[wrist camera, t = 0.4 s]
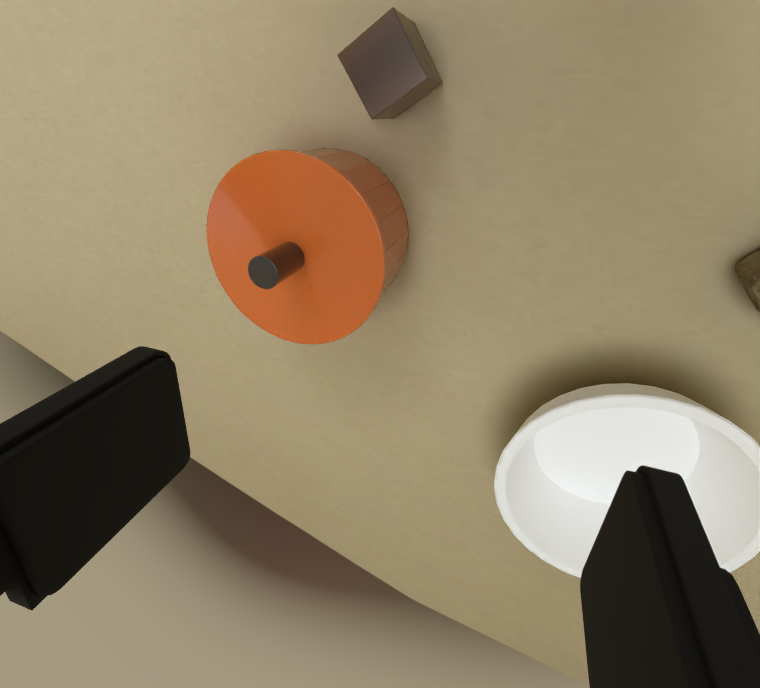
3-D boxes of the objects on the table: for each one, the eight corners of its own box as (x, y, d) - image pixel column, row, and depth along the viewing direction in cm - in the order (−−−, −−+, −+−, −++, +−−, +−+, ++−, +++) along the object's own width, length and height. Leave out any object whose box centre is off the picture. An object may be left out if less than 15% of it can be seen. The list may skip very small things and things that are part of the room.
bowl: (687, 547, 49) (712, 620, 42) (483, 491, 54) (475, 547, 47) (791, 377, 38) (848, 437, 31) (524, 327, 44) (521, 369, 37)
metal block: (364, 62, 38) (337, 54, 32) (414, 22, 35) (393, 6, 30) (393, 119, 39) (371, 119, 34) (443, 83, 36) (428, 78, 31)
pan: (241, 200, 47) (184, 217, 39) (355, 114, 40) (311, 114, 32) (319, 322, 51) (281, 359, 43) (436, 263, 43) (415, 295, 36)
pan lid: (182, 213, 40) (133, 227, 35) (316, 103, 32) (277, 101, 27) (283, 362, 44) (252, 392, 39) (424, 296, 36) (407, 324, 31)
